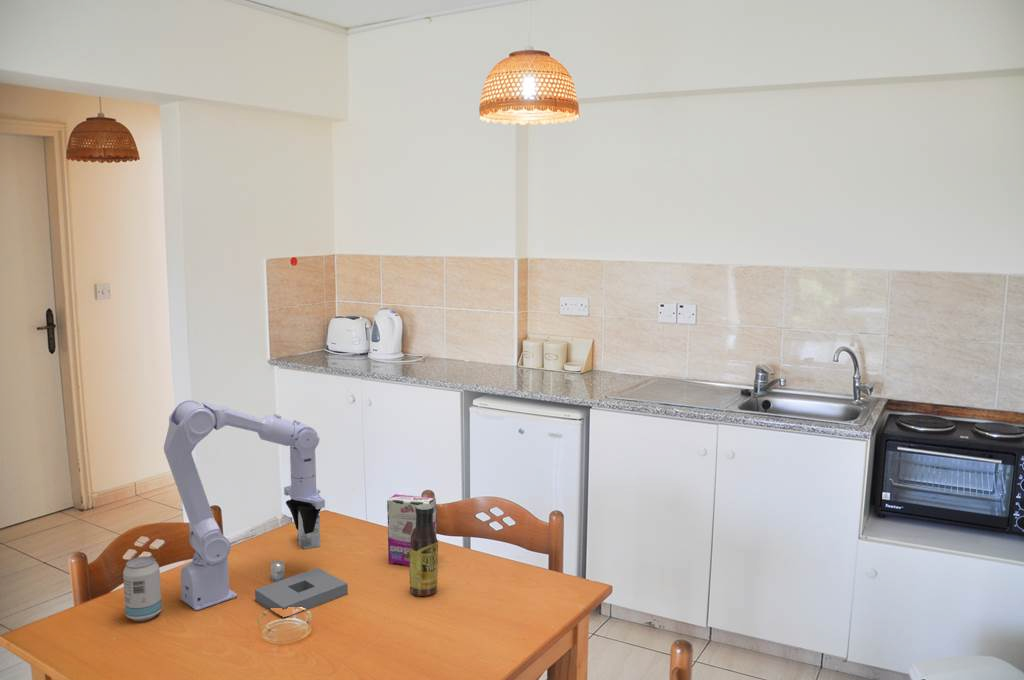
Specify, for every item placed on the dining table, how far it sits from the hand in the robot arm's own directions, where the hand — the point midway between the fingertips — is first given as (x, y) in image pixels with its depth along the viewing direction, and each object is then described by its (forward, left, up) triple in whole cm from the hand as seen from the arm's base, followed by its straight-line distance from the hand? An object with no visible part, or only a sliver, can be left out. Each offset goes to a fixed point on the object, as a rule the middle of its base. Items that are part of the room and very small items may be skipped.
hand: (305, 530), depth 189 cm
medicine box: (+10, +15, -11) cm, 21 cm away
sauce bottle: (+13, -28, -11) cm, 32 cm away
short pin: (-7, +1, -10) cm, 12 cm away
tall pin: (0, 0, -3) cm, 3 cm away
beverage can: (-36, +5, -11) cm, 38 cm away
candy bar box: (+21, -14, -11) cm, 27 cm away
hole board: (-8, -11, -10) cm, 17 cm away
